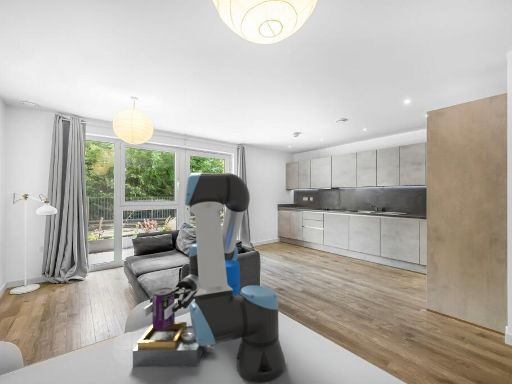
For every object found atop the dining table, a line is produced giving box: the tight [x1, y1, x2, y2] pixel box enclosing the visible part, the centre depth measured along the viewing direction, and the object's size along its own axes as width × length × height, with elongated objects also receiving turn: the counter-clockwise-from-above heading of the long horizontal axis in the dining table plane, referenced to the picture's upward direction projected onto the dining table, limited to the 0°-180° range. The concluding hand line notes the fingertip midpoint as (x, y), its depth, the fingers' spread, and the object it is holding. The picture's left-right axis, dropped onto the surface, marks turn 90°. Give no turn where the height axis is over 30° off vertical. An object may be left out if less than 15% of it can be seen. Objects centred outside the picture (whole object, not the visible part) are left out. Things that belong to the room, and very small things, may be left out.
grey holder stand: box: [132, 321, 215, 368], centre depth 82 cm, size 24×14×7 cm, turn 89°
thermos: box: [225, 260, 241, 295], centre depth 100 cm, size 11×11×25 cm
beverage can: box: [151, 287, 176, 330], centre depth 82 cm, size 7×7×12 cm
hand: (155, 313), depth 77 cm, fingers closed on beverage can, 7 cm apart
